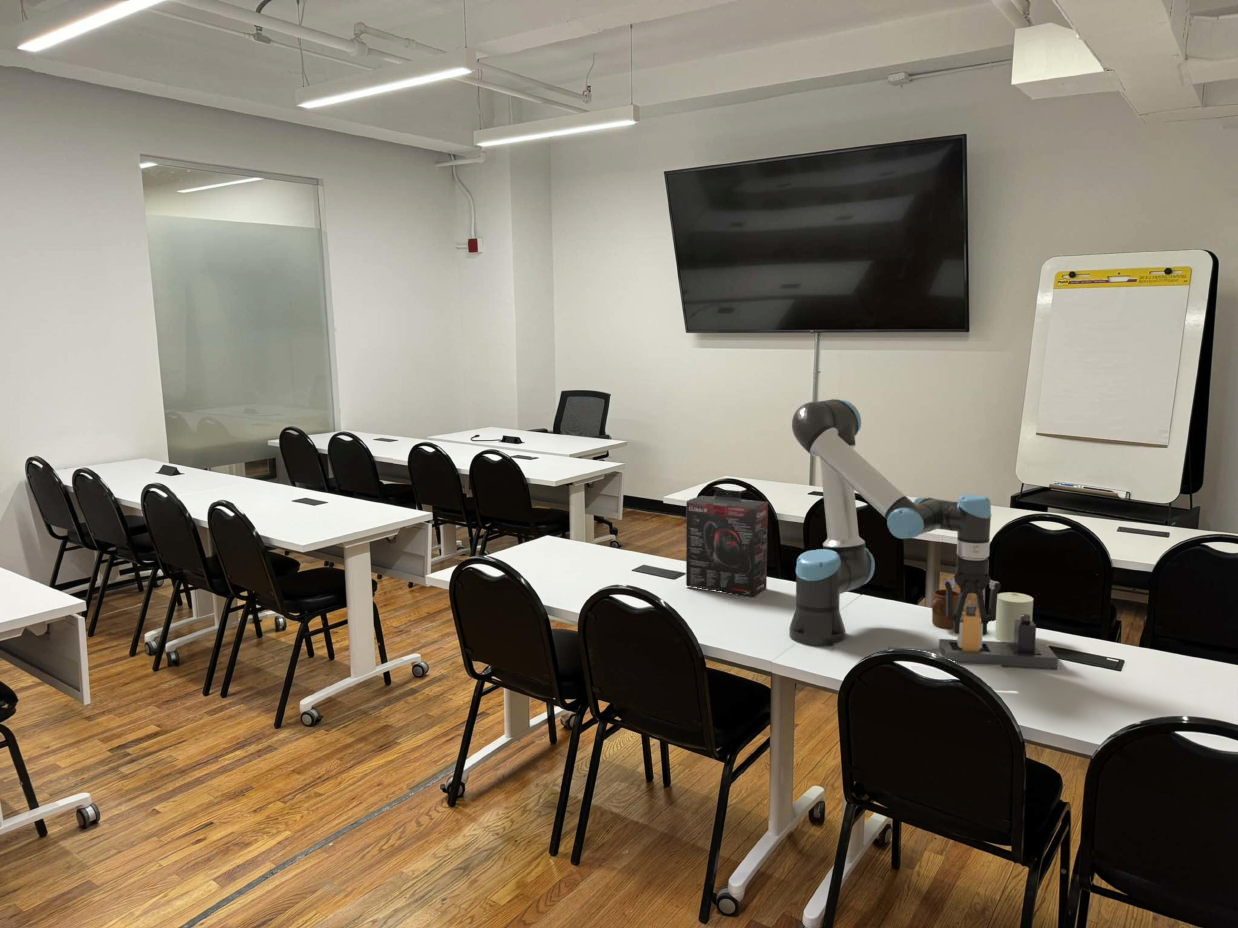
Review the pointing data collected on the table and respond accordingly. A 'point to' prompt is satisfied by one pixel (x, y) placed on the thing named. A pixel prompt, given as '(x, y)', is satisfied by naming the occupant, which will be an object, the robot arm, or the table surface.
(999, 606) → the can
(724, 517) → the headset box
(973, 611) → the orange bottle
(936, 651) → the parts mat
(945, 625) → the mug
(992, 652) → the grey fixture base
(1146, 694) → the table surface
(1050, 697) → the table surface
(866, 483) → the robot arm
